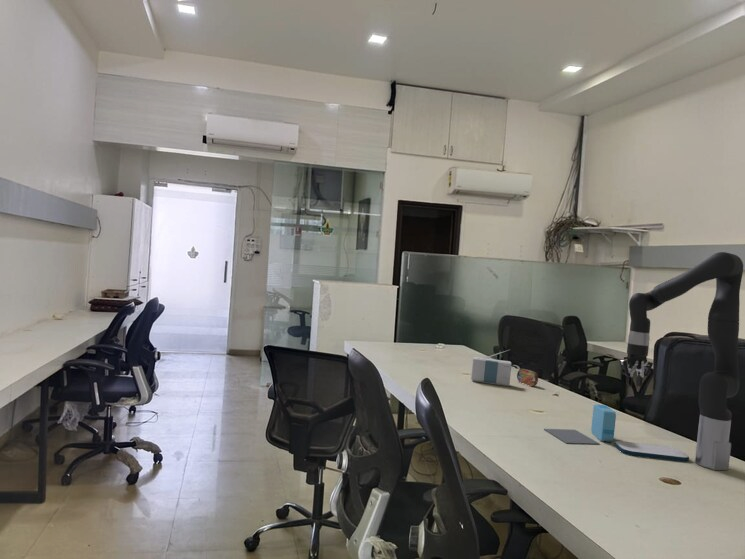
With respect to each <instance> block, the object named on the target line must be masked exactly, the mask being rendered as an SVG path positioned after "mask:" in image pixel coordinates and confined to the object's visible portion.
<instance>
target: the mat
mask: <svg viewBox="0 0 745 559" xmlns="http://www.w3.org/2000/svg"><path fill="white" fill-rule="evenodd" d="M543 430H544V431H545V432H546V433H549V435H551V436H553V437H555V438H556V439H557V440H559V441H561V442H562V443H565V444H566V445H567V444H568V445H569V444H570V445H598V444H600V442H598V441H596V440H594V439H592V438H591V437H589V436H587V435H585V434H584V433H582V432H580V431H578V430H577V429H564V428H563V429H561V428H543Z"/></svg>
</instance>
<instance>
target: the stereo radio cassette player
mask: <svg viewBox="0 0 745 559" xmlns="http://www.w3.org/2000/svg"><path fill="white" fill-rule="evenodd" d="M510 350H511V349H508V350H505V351H504V350H503V351H502V352H498V353H495V354H492V355H488V356H486V357H480V356H479V357H478V356H475V357H473V359H472V366H471V374H470V375H471V377H470V379H471V381H472V382H478V383H483V384H484V383H485V384H492V385H498V386H502V387H503V386H504V387H508V386H510V383H511V382H510V381H511V372H512V362H511V361H509V360H501V359H494V358H491V357H494V356H496V355H499V354H502V353H505V352H508V351H510Z"/></svg>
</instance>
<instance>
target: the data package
mask: <svg viewBox="0 0 745 559" xmlns="http://www.w3.org/2000/svg"><path fill="white" fill-rule="evenodd" d="M592 410H593V411H592V416H591V417H592V418H591V427H590V431H591V434H592V435H593V434H594V435H595V436H596V437H597V438H596V437H595V436H594V435H593V436H594V437H595V438H596V439H597V440H598V441H600V442H604V441H606V442H607V443H613V442H614V440H615V439H614V438H615V429H616V418H617V413H616V411H614V410H613V409H611V408H610V407H609V406H608V405H604V404H596V403H595V404H594V405H593V408H592Z"/></svg>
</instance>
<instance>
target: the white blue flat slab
mask: <svg viewBox="0 0 745 559" xmlns="http://www.w3.org/2000/svg"><path fill="white" fill-rule="evenodd" d="M614 448H616V449H617V450H618V451H619V452H620V451H621V452H620V453H621V454H624V455H627V456H631V455H632V456H631V457H639V456H640V458H641V457H642V458H647V457H649V459H656V460H657V459H658V460H666V461H674V462H682V463H683V462H685V463H686V462H689V460H690V457H689V455H688V454H686V453H685V452H683V451H682V450H680V449H679V448H676V447H670V446H667V445H666V446H665V445H664V446H663V445H656V444H648V443H639V442H632V441H631V442H629V441H621V440H619V441H617V440H615V442H614Z"/></svg>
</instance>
